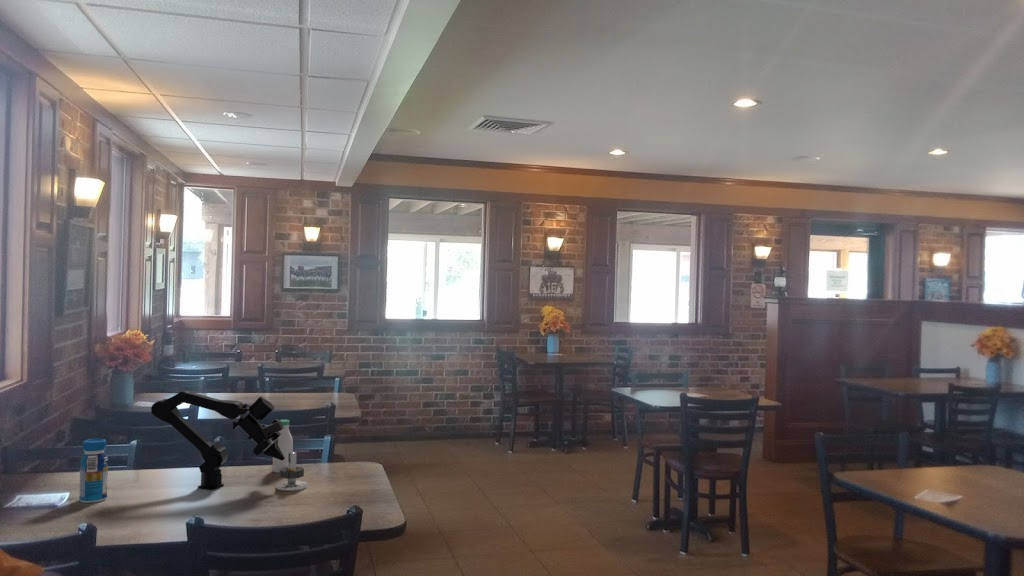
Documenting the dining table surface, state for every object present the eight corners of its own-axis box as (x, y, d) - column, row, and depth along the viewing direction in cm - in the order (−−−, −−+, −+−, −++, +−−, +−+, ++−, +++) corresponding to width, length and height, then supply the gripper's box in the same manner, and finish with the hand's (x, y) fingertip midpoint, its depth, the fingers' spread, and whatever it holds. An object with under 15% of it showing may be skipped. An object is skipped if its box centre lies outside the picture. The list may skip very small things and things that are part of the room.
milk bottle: (296, 470, 295) (297, 420, 295) (281, 474, 288) (282, 422, 288) (283, 467, 299) (284, 418, 299) (267, 471, 292) (269, 420, 292)
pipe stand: (269, 489, 267) (270, 454, 267) (288, 481, 277) (289, 448, 277) (294, 492, 263) (295, 457, 263) (313, 485, 274) (314, 451, 274)
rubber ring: (275, 477, 268) (275, 470, 268) (289, 472, 275) (289, 465, 275) (294, 479, 265) (294, 472, 265) (307, 474, 273) (307, 467, 273)
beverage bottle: (72, 501, 246) (74, 441, 246) (94, 495, 254) (96, 436, 254) (91, 504, 244) (93, 443, 244) (113, 498, 252) (114, 439, 252)
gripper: (263, 417, 260) (294, 449, 261) (275, 409, 279) (305, 438, 280) (239, 440, 260) (271, 471, 261) (253, 430, 278) (283, 459, 279)
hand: (283, 459), depth 270 cm, fingers closed
